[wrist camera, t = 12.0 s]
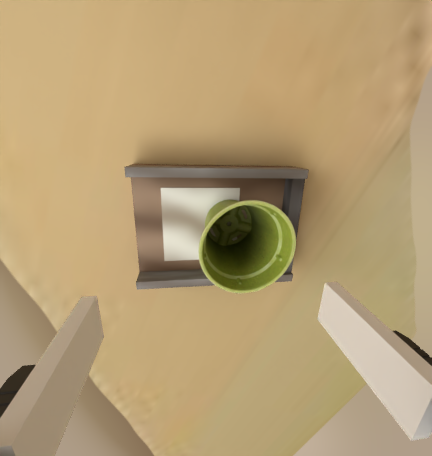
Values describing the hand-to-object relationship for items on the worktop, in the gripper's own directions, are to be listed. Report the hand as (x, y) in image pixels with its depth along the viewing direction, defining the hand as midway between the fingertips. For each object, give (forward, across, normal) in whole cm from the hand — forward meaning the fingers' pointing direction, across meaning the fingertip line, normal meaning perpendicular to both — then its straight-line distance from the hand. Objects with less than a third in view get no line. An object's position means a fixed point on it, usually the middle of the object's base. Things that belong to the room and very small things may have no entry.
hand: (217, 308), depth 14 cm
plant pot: (+17, +4, 0) cm, 17 cm away
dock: (+19, +2, -1) cm, 19 cm away
